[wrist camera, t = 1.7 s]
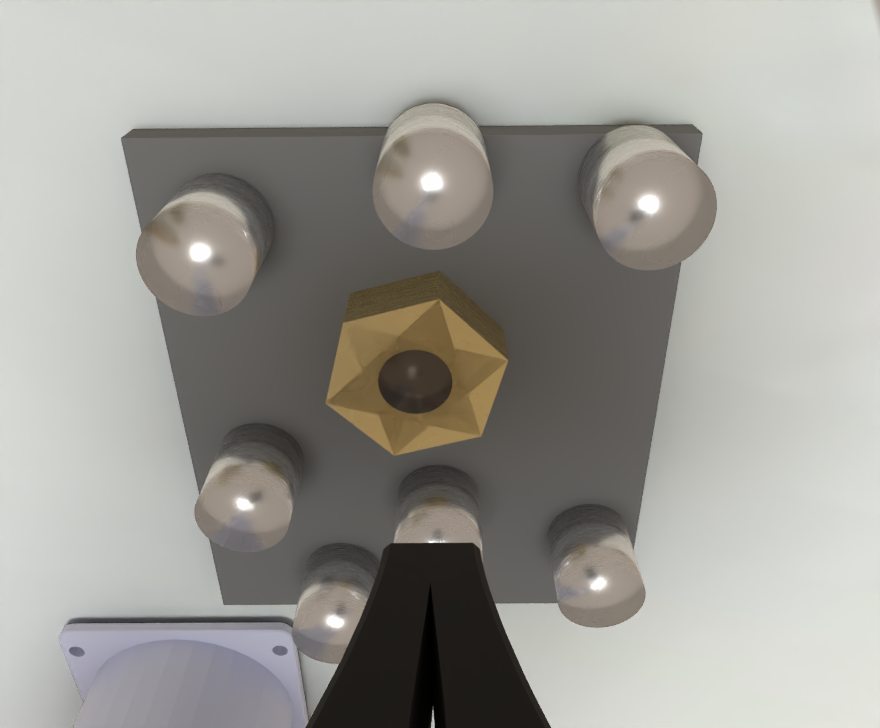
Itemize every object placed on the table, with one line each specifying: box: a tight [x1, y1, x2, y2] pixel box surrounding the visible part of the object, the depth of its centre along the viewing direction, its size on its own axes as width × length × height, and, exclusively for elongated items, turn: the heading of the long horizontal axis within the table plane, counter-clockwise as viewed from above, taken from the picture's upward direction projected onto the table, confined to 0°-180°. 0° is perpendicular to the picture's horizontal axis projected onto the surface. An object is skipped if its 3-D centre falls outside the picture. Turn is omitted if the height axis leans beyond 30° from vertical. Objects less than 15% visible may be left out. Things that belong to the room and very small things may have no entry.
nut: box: [326, 271, 508, 456], centre depth 19 cm, size 4×5×2 cm
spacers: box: [136, 103, 717, 664], centre depth 20 cm, size 15×12×2 cm
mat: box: [121, 125, 703, 605], centre depth 21 cm, size 15×13×1 cm
